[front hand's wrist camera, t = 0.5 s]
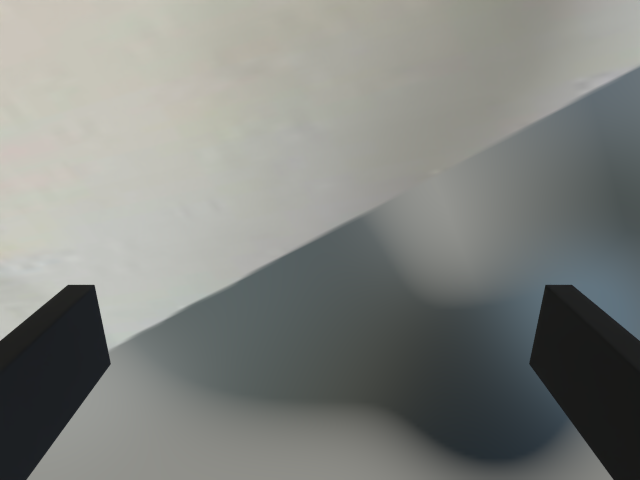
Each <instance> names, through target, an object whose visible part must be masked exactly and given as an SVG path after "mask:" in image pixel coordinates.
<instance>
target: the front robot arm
mask: <svg viewBox="0 0 640 480" xmlns="http://www.w3.org/2000/svg"><path fill="white" fill-rule="evenodd" d="M110 364H111V363H110V358H109V354H108V348H107V344H106V339H105V334H104V329H103V324H102V319H101V314H100V310H99V305H98V300H97V295H96V290H95V285H67V286H66V287H65V288H64V289H63V290H61V291H60V292H59V293H58V294H57V295H55V296H54V297H53V298H52V299H50V300H49V301H48V302H47V303H46V304H44V305H43V306H42V307H41V308H40V309H38V310H37V311H36V312H35V313H34V314H32V315H31V316H30V317H29V318H28V319H26V320H25V321H24V322H23V323H21V324H20V325H19V326H18V327H17V328H15V329H14V330H13V331H12V332H11V333H9V334H8V335H7V336H6V337H5V338H3V339H2V340H1V341H0V480H26V479H27V478H28V477H29V475H30V474H31V473H32V471H33V470H34V469H35V467H36V466H37V464H38V463H39V462H40V460H41V459H42V458H43V456H44V455H45V453H46V452H47V451H48V449H49V448H50V447H51V445H52V444H53V442H54V441H55V440H56V438H57V437H58V436H59V434H60V433H61V431H62V430H63V429H64V427H65V426H66V425H67V423H68V422H69V420H70V419H71V418H72V416H73V415H74V414H75V412H76V411H77V409H78V408H79V407H80V405H81V404H82V403H83V401H84V400H85V398H86V397H87V396H88V394H89V393H90V392H91V390H92V389H93V388H94V386H95V385H96V383H97V382H98V381H99V379H100V378H101V377H102V375H103V374H104V372H105V371H106V370H107V368H108V367H109V366H110ZM529 364H530V366H531V367H532V368H533V370H534V371H535V372H536V374H537V375H538V376H539V378H540V379H541V381H542V382H543V383H544V385H545V386H546V387H547V389H548V390H549V392H550V393H551V394H552V396H553V397H554V399H555V400H556V401H557V403H558V404H559V405H560V407H561V408H562V409H563V411H564V412H565V414H566V415H567V416H568V418H569V419H570V420H571V422H572V423H573V425H574V426H575V427H576V429H577V430H578V431H579V433H580V434H581V436H582V437H583V438H584V440H585V441H586V442H587V444H588V445H589V447H590V448H591V449H592V451H593V452H594V453H595V455H596V456H597V457H598V459H599V460H600V462H601V463H602V464H603V466H604V467H605V469H606V470H607V471H608V473H609V474H610V475H611V477H612V478H613V479H614V480H640V341H639V340H638V339H637V338H635V337H634V336H633V335H632V334H630V333H629V332H628V331H627V330H626V329H625V328H623V327H622V326H621V325H620V324H619V323H617V322H616V321H615V320H614V319H612V318H611V317H610V316H609V315H608V314H606V313H605V312H604V311H603V310H602V309H600V308H599V307H598V306H597V305H596V304H594V303H593V302H592V301H591V300H589V299H588V298H587V297H586V296H585V295H583V294H582V293H581V292H580V291H579V290H577V289H576V288H575V287H574V286H573V285H546V286H545V290H544V295H543V300H542V305H541V310H540V314H539V319H538V324H537V329H536V334H535V339H534V344H533V348H532V353H531V358H530V363H529Z"/></svg>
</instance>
